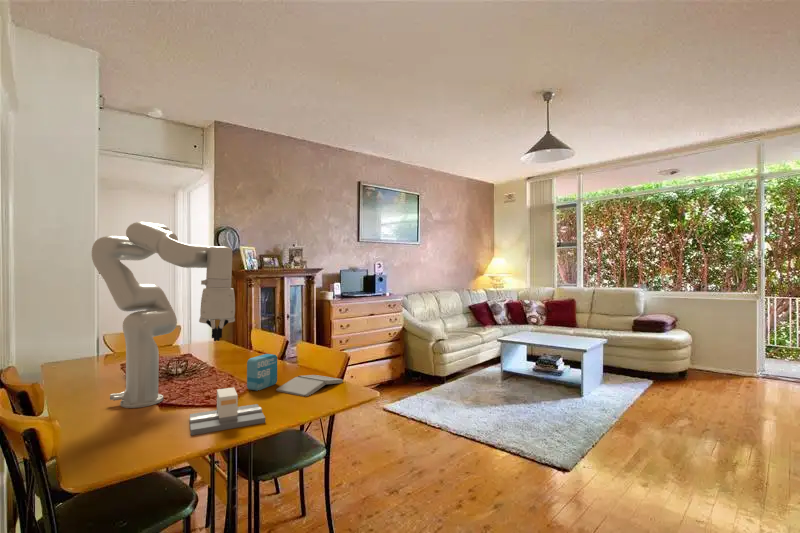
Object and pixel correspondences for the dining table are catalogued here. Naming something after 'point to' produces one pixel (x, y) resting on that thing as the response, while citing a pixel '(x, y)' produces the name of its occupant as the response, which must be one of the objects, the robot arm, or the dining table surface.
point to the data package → (261, 371)
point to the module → (227, 404)
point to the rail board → (211, 423)
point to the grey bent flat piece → (307, 384)
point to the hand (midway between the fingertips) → (216, 340)
